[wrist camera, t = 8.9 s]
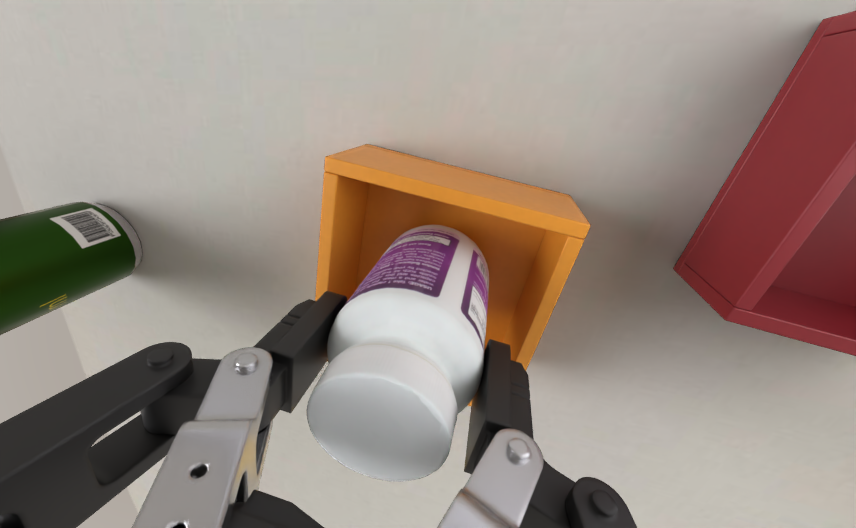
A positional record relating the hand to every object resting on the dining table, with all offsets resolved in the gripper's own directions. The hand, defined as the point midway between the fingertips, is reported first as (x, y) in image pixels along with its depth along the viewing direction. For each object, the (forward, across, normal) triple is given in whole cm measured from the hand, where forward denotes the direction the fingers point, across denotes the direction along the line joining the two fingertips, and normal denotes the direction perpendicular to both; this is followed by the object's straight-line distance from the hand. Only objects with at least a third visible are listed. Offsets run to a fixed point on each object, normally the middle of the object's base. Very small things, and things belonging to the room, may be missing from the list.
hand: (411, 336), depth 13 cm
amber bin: (+7, 0, 0) cm, 7 cm away
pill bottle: (+6, 0, 0) cm, 6 cm away
